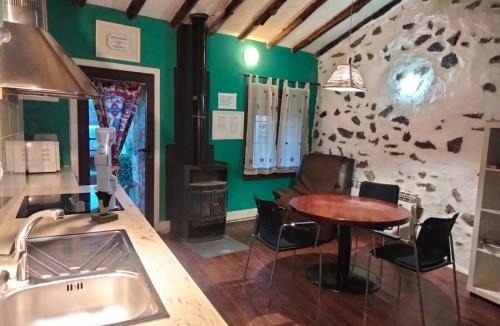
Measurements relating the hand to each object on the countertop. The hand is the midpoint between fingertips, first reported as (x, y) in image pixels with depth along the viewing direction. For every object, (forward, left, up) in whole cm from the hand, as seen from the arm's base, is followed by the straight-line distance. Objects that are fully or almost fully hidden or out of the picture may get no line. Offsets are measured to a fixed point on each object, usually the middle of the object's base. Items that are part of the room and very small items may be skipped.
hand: (104, 206), depth 163 cm
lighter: (-24, -2, -7) cm, 25 cm away
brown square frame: (0, 0, -7) cm, 7 cm away
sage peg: (0, 0, -3) cm, 3 cm away
